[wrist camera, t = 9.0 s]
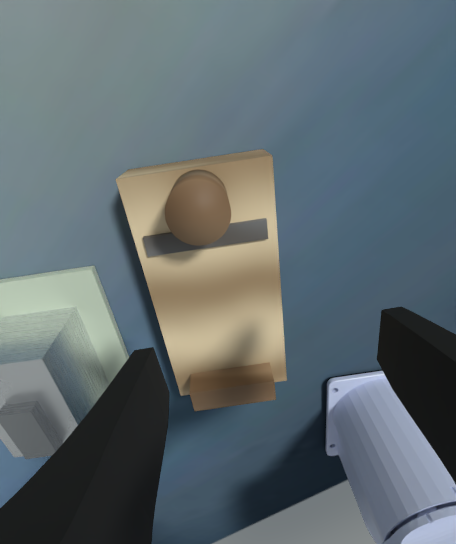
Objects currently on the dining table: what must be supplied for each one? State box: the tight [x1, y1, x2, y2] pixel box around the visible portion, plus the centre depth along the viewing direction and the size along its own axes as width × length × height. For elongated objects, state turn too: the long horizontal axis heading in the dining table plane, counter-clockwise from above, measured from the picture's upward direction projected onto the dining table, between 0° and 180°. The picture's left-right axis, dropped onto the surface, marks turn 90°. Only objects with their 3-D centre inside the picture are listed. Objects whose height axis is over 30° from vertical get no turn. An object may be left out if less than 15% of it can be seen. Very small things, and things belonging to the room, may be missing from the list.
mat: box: [0, 266, 129, 384], centre depth 21 cm, size 12×8×1 cm, turn 8°
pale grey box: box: [0, 307, 109, 459], centre depth 18 cm, size 7×4×5 cm, turn 7°
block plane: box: [116, 149, 287, 411], centre depth 17 cm, size 14×7×5 cm, turn 8°
